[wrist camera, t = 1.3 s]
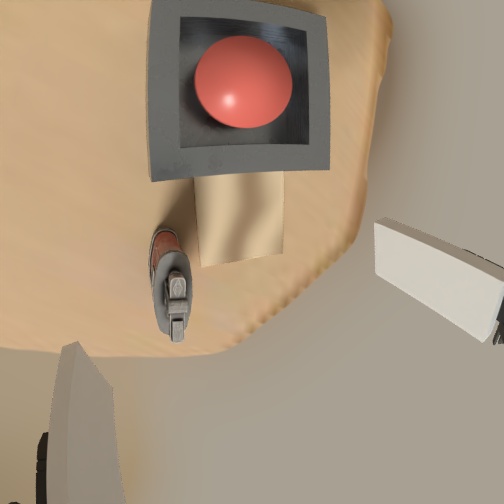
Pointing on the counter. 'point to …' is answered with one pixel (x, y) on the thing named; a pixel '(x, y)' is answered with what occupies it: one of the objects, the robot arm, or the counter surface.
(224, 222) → the coaster
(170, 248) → the lighter
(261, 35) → the grey open box
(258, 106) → the button
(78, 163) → the counter surface
